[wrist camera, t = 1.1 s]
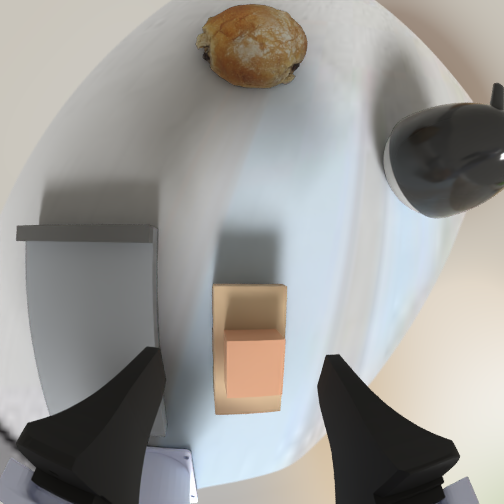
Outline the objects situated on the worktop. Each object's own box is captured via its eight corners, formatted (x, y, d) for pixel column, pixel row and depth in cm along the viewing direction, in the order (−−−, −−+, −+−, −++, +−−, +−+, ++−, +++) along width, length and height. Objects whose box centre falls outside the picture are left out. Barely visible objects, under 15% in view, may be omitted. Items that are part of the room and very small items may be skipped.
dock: (167, 424, 22) (163, 446, 18) (58, 407, 20) (44, 424, 16) (157, 228, 22) (149, 224, 18) (37, 228, 20) (16, 225, 16)
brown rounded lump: (253, 117, 27) (306, 98, 20) (170, 63, 21) (205, 20, 14) (285, 58, 27) (335, 35, 21) (218, 8, 21) (259, -30, 15)
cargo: (273, 379, 19) (282, 394, 17) (224, 381, 19) (227, 398, 16) (275, 328, 19) (285, 339, 17) (223, 329, 19) (226, 341, 16)
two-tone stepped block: (269, 389, 23) (280, 410, 19) (213, 391, 22) (215, 414, 18) (273, 280, 23) (287, 286, 19) (212, 280, 22) (213, 286, 18)
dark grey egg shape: (437, 149, 26) (533, 112, 11) (434, 232, 26) (550, 224, 11) (370, 113, 25) (469, 41, 10) (363, 205, 25) (498, 169, 10)
